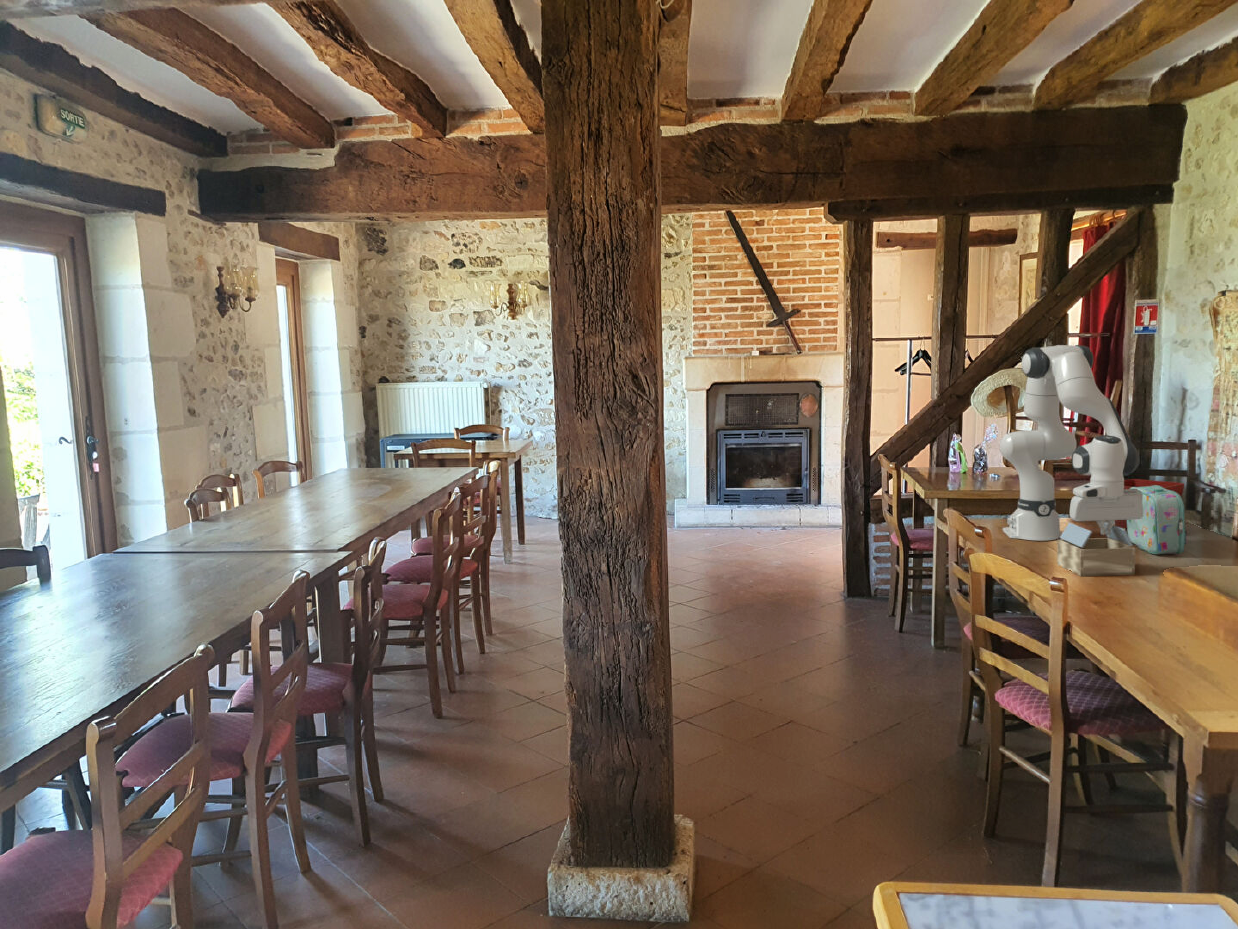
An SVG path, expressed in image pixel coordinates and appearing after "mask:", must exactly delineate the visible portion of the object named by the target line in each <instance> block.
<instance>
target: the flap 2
mask: <svg viewBox="0 0 1238 929" xmlns="http://www.w3.org/2000/svg"><path fill="white" fill-rule="evenodd" d="M1103 525H1104V527H1105V528H1106V527H1107V525H1108V522H1107V521H1105V524H1103ZM1106 538H1110V539H1113V540H1115V541H1118V542H1120V543H1123V544H1126V545H1128V546H1131V547H1133V546H1134V545H1133V543H1132V542H1131V541H1130V539H1129V537H1128V532H1127V529H1123V528H1120V527H1117V526H1116V525H1114V526H1113V527H1112V529H1111V534H1110V535H1106Z"/></svg>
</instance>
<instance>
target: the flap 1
mask: <svg viewBox="0 0 1238 929" xmlns="http://www.w3.org/2000/svg"><path fill="white" fill-rule="evenodd" d="M1061 533H1062V535H1061V537H1059V539H1063V540H1066V541H1068V542H1070V543H1073V544H1075V545H1077V546H1079V547H1082V548H1083V547H1084V545H1085V543H1086V542H1087V540H1088V539H1090V538H1091V535H1092V533H1093V531H1092V530H1089V529H1086V528H1085V527H1081V526H1079V525H1076V524H1074V523H1072V522H1068V524H1067V525H1066V527H1065V529H1064V530H1063V532H1061Z"/></svg>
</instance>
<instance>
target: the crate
mask: <svg viewBox="0 0 1238 929" xmlns="http://www.w3.org/2000/svg"><path fill="white" fill-rule="evenodd" d="M1056 542H1057V544H1056V545H1057V546H1056V552H1057V553H1056V557H1057V558H1056V565H1057V564H1058V565H1057V566H1059V565H1060V566H1059V567H1061V566H1062V568H1063V569H1065V570H1068V571H1069V570H1071V571H1072V572H1071V571H1070V572H1071V573H1073V572H1074V573H1073V574H1075V573H1076V574H1075V575H1077V576H1079V577H1103V576H1104V577H1105V576H1106V577H1107V576H1108V577H1109V576H1133V575H1134V576H1135V572H1136V568H1135V567H1136V548H1135V547H1133V546H1129V545H1127V544H1124V543H1122V542H1119V541H1116V540H1114V539H1111V538H1109V537H1100V538H1099V537H1097V538H1096V537H1095V538H1091V537H1089V539H1088V540H1087V542H1086V543H1085V545H1084V547H1083V548H1082V547H1079V546H1077V545H1075V544H1073V543H1070V542H1068V541H1066V540H1063V539H1061V538H1059V539H1056Z"/></svg>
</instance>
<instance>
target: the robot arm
mask: <svg viewBox="0 0 1238 929" xmlns="http://www.w3.org/2000/svg"><path fill="white" fill-rule="evenodd" d="M1093 366H1094V355H1093V352H1092V350H1091V348H1089V346H1085V345H1080V344H1075V345H1068V344H1065V345H1064V344H1061V345H1060V344H1057V345H1051V346H1044V347H1032V348H1029V349H1027V350H1026V351H1025V352H1024V354H1023V355H1022V357H1021V371H1022V372H1023V375H1025V376H1026V377H1027V379H1026V385H1025V392H1024V402H1023V404H1024V405H1023V413H1024V415H1025V417H1027V418H1028V419H1029V420H1031V421H1033V422H1035V423H1037V429H1034V430H1032V429H1030V430H1018V431H1012V432H1008V433H1005V434H1004V435H1003V436H1002V438H1001V439H1000V441H999V445H998V446H999V452H1000V454H1001V456H1002V457H1003V458H1004V459H1005V460H1007V461H1008V462H1009V463H1011V465H1012V466H1013V467H1014V468H1015V471H1016V473H1017V475H1018V480H1019V498H1018V500H1017V506H1016V507H1017V509H1015V511H1014V512H1012V514H1011V515H1010V516H1009V517H1007V519H1006V521H1007V522H1006V523H1007V525H1009V526H1006V527H1002V531H1003V533H1004V534H1005V535H1007V536H1008V537H1009V538H1010V539H1018V540H1019V539H1021V540H1027V541H1039V542H1040V541H1042V542H1043V541H1054V540H1059V539H1060V537H1061V535H1062V533H1063V532H1061V523H1060V514H1059V513H1058V512H1057V511H1056V506H1057V503H1056V502H1057V501H1056V499H1055V479H1054V477H1053V475H1052V474H1051V473H1049V472H1047V471H1045V470H1044V469H1041V467H1040V465H1039V462H1040V461H1058V460H1063V459H1066V458H1070V457H1071V465H1072V468H1073V469H1074V470H1075V471H1076V472H1077V473H1078V474H1079V475H1083V476H1090V479H1089V482H1088V483H1085V484H1082V485H1079V486H1077V487H1074V488H1073V489H1072V493H1073V495H1075V496H1073V497H1072V498H1071V500H1070V506H1069V517H1070V519H1071V520H1072V521H1075V522H1092V521H1093V522H1094V521H1095V522H1096V523H1097V525H1098V526H1099V528H1100V535H1102V536H1107V535H1110V534H1111V529H1112V527H1113V526H1115V520H1132V519H1141V518H1142V517H1143V505H1142V499H1143V494H1142V492H1141V491H1140V490H1138V489H1124V480H1125V478H1124V476H1129V475H1131V474H1133V472H1134V471H1136V469H1137V468H1138V467H1139V465H1140V454H1139V451H1138V450H1137V448H1136V447H1135V445H1134V444H1133V442H1132V441H1131V439H1130V437H1129V435H1128V432H1127V430H1126V428H1125V426H1124V423H1123V421H1122V419H1121V416H1120V414H1119V413H1118V411H1117V408H1116V406H1115V404H1114V402H1113V401H1112V400H1111V398H1110V397H1107V396H1106V395H1104V394H1103V393H1102V391H1101V390H1100V389H1099V388H1098V386H1097V384H1096V380H1095V377H1094V373H1093V371H1092V368H1093ZM1060 403H1061V406H1063V407H1064V408H1066V409H1067V410H1069V411H1070V412H1074V413H1077V414H1081V415H1085V416H1087V417H1091V418H1092V419H1095V420H1097V421H1098V422H1099V423H1100V424H1101V425H1102V427H1103V429H1104V432H1105V433H1106V434H1105V435H1097V436H1094V438H1093V439H1092V440H1091V442H1089V443H1085V444H1083V445H1078V446H1077V439H1076V437H1075V435H1074V434H1073V433H1072V432H1071V431H1070V430H1068V429H1067V428H1066V427H1065V425H1064V424H1063V422H1062V420H1061V417H1060ZM1138 491H1139V492H1138ZM1105 522H1106V523H1108V525H1107V527H1106V528H1105V527H1104V525H1103V524H1105Z"/></svg>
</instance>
